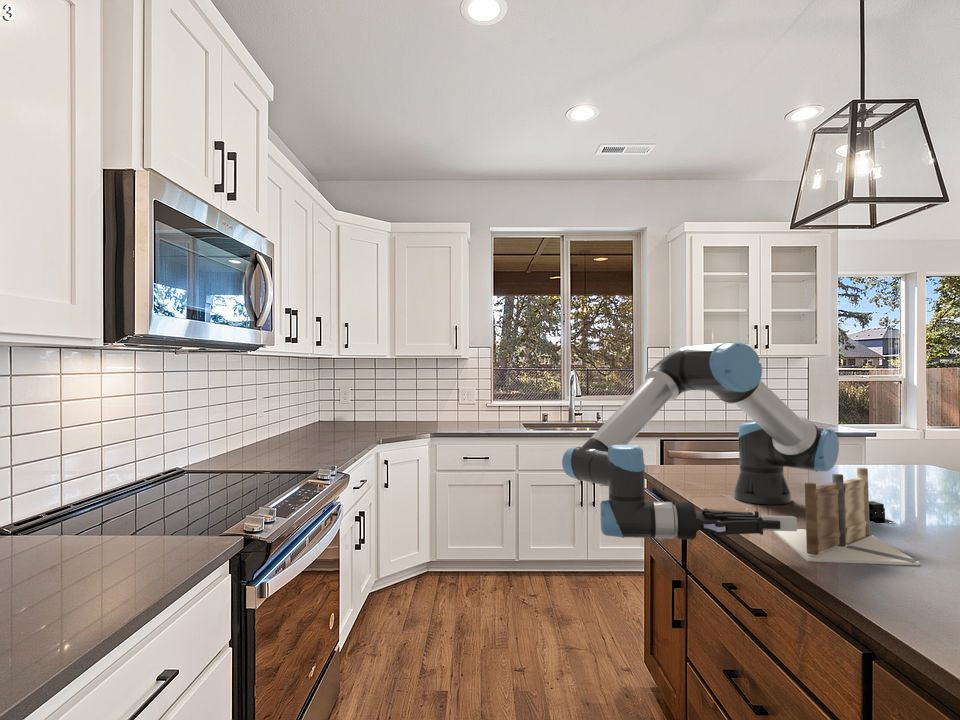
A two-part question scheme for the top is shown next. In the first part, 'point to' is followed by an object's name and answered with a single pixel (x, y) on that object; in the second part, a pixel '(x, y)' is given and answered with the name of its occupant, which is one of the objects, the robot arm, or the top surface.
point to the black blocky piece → (877, 512)
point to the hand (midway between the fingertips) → (795, 523)
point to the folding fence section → (821, 517)
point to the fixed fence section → (853, 506)
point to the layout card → (848, 550)
